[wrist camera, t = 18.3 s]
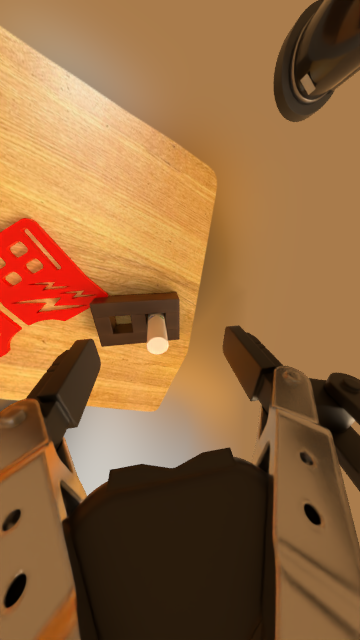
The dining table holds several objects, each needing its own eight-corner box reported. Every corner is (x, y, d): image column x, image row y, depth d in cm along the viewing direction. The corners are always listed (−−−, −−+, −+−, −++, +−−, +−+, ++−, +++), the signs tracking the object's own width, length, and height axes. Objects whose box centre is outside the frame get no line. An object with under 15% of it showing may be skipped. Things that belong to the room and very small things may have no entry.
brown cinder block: (95, 296, 40) (89, 304, 36) (176, 292, 43) (179, 298, 38) (106, 335, 46) (101, 346, 41) (176, 330, 49) (179, 339, 44)
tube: (162, 320, 46) (167, 354, 33) (147, 319, 45) (146, 354, 32) (164, 306, 44) (169, 337, 31) (148, 305, 43) (147, 336, 30)
